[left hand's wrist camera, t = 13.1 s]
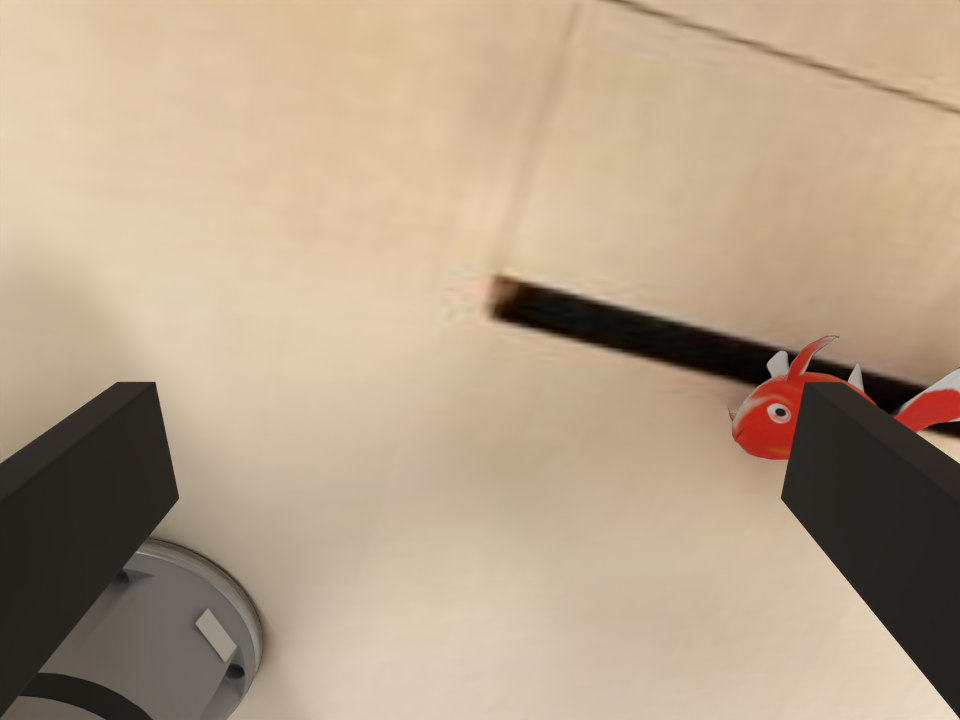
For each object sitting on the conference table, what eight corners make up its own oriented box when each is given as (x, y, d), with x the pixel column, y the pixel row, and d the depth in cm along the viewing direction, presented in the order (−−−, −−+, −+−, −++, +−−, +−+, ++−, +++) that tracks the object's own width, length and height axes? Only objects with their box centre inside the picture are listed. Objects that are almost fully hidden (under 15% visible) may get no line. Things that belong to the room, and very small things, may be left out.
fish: (813, 228, 26) (996, 413, 20) (979, 294, 34) (1148, 442, 28) (657, 388, 33) (758, 565, 26) (826, 412, 40) (935, 554, 34)
